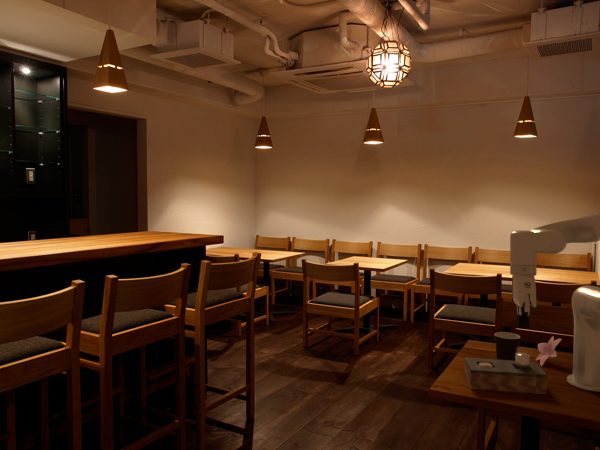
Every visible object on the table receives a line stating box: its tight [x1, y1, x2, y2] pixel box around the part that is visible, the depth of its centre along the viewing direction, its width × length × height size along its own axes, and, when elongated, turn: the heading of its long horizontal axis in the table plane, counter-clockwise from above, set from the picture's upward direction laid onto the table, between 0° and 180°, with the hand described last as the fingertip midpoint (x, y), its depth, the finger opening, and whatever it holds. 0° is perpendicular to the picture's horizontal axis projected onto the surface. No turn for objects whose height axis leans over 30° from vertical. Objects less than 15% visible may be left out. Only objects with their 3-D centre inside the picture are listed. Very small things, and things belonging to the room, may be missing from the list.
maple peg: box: [479, 363, 492, 368], centre depth 153 cm, size 4×4×6 cm
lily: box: [535, 336, 562, 367], centre depth 172 cm, size 12×12×10 cm
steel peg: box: [515, 351, 530, 370], centre depth 151 cm, size 4×4×6 cm
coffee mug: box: [494, 331, 521, 361], centre depth 174 cm, size 12×9×10 cm
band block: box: [464, 357, 548, 395], centre depth 152 cm, size 22×12×6 cm, turn 79°
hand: (523, 327), depth 151 cm, fingers closed
